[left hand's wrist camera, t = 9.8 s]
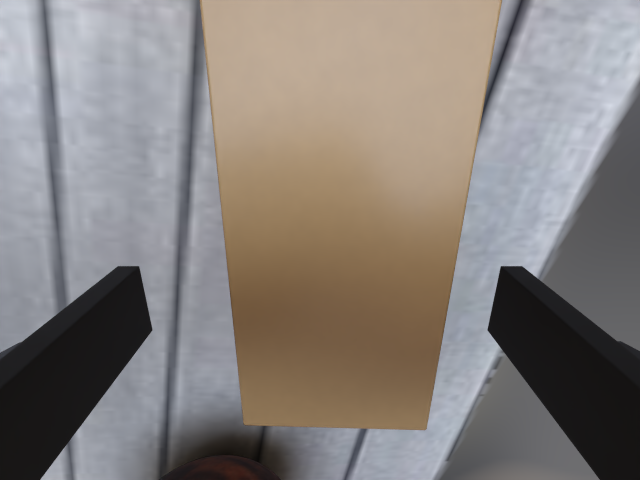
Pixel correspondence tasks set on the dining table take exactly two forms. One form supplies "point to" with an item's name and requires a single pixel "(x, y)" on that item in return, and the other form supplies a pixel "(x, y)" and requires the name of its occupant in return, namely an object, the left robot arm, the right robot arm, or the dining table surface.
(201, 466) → the cat face balloon
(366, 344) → the bar
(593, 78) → the dining table surface
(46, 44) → the dining table surface
